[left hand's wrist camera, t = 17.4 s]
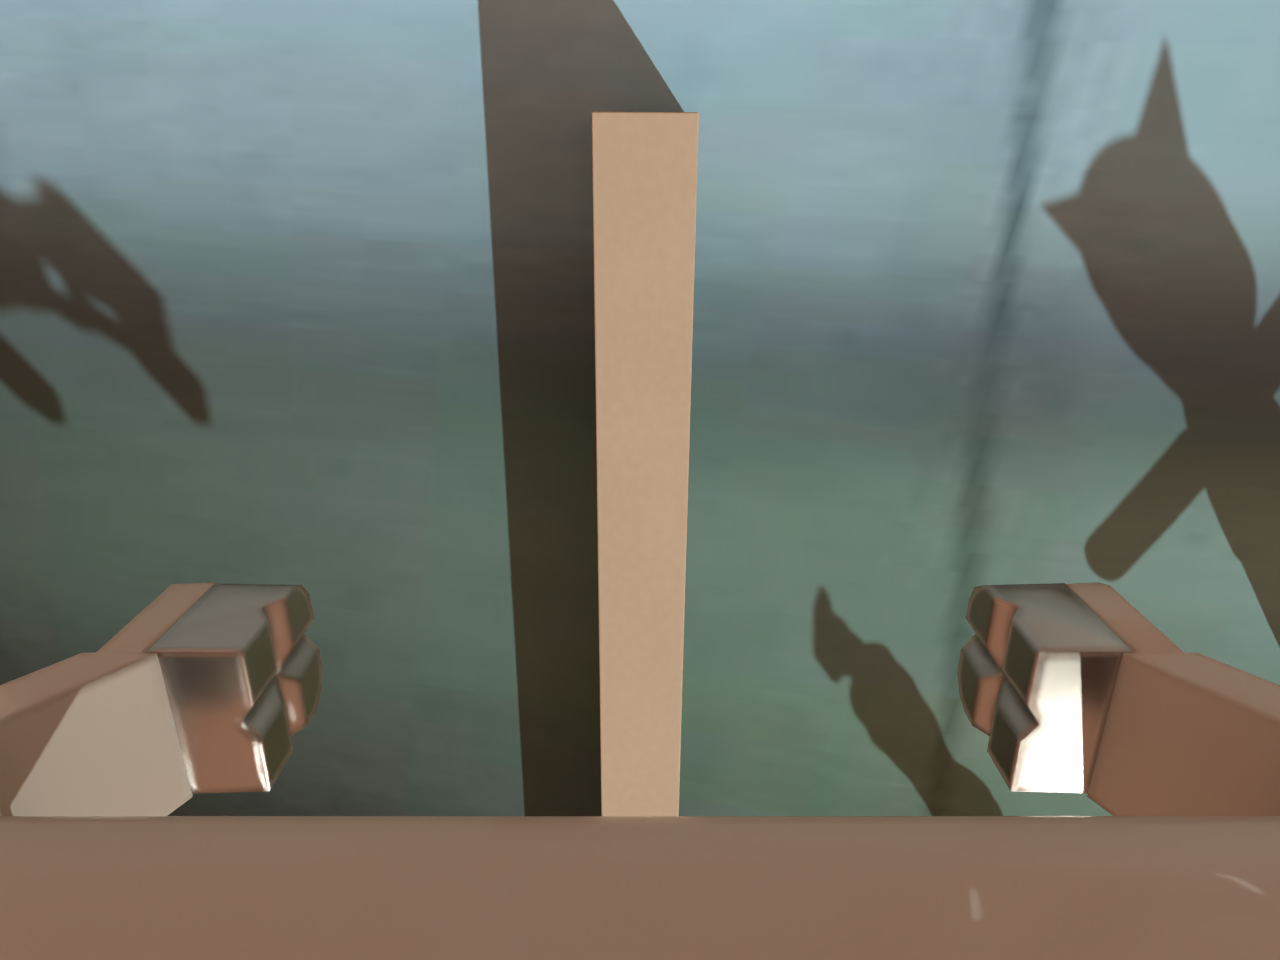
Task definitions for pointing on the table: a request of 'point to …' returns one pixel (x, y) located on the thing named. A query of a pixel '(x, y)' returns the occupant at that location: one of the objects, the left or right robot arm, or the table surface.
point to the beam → (642, 444)
